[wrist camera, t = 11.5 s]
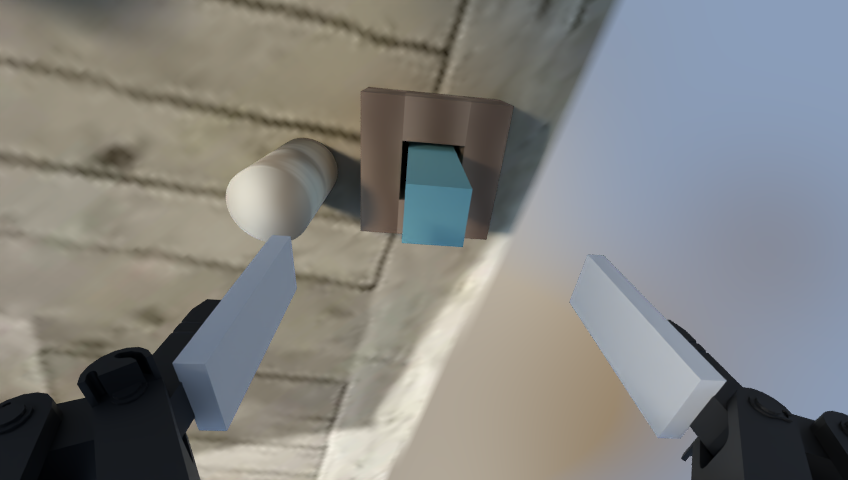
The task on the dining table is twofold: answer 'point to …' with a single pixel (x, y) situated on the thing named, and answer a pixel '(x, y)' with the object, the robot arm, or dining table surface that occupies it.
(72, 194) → the dining table surface
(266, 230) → the round dowel
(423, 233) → the square bit
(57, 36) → the dining table surface
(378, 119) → the socket block
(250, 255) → the dining table surface
